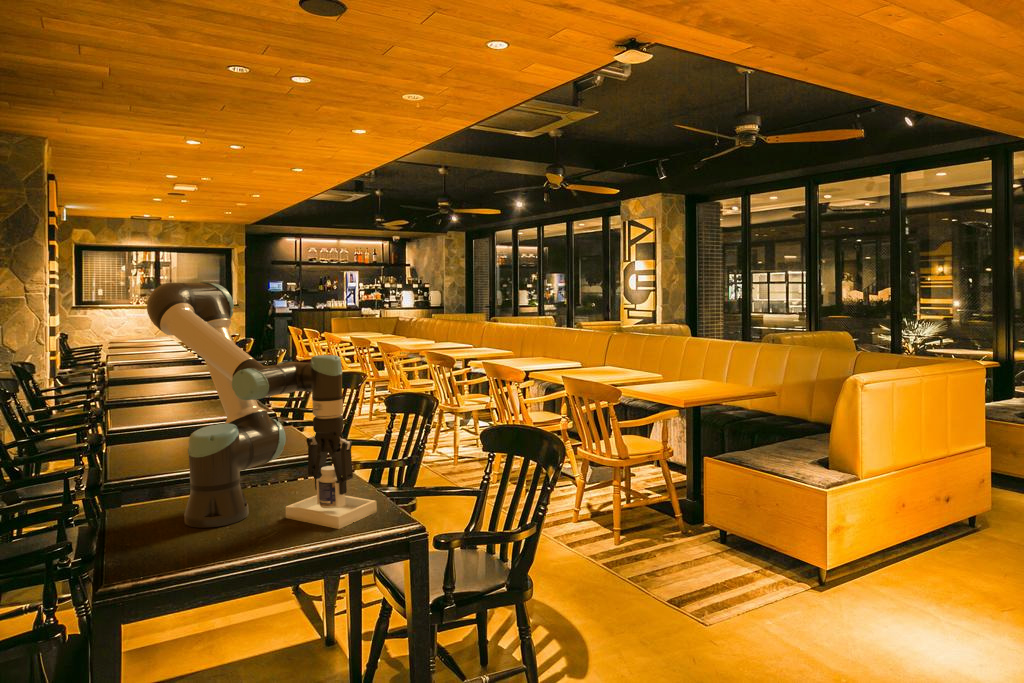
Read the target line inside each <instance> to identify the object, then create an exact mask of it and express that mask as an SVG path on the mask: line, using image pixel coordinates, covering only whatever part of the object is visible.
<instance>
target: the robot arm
mask: <svg viewBox="0 0 1024 683" xmlns="http://www.w3.org/2000/svg"><path fill="white" fill-rule="evenodd" d="M234 304H235V303H234V299H233V297H232V295H231V294H230V292H229V291H228V289H227V288H225V286H222V285H220V284H219V283H211V282H207V281H201V282H167V283H163V284H161V285H159V286H157V287H156V288H155V289H154V290H152V292H151V293H150V294H149V297H148V298H147V302H146V312H147V315H148V317H149V319H150V321H151V322H152V324H153V326H155V327H157V329H158V330H159V331H161V332H162V333H164V335H165V336H166V335H167V336H171V337H172V336H174V337H175V338H176V339H178V340H179V341H180V342H182V343H183V344H184V345H185V346H187V347H188V348H189V349H190V350H192V351H193V352H195V354H197V355H198V356H199V357H201V358H202V359H204V361H205V364H206V366H207V369H208V372H209V374H210V375H209V376H210V377H211V380H212V382H213V384H214V387H215V390H216V392H217V395H218V397H219V401H220V403H221V406H222V408H223V410H224V414H225V416H226V420H225V422H224V423H217V424H212V425H206V426H203V427H201V428H198V429H197V430H195V431H193V432H192V433H190V435H189V437H188V448H187V454H188V466H189V467H188V468H189V484H190V486H189V487H190V492H189V493H190V494H189V496H188V501H187V502H186V503H187V504H186V508H185V511H184V514H183V516H184V524H185V525H186V526H188V527H191V528H201V529H203V528H206V529H207V528H208V529H209V528H217V527H218V528H219V527H223V526H228V525H231V524H235V523H238V522H240V521H243V520H244V519H246V518H247V517H248V516H249V514H250V513H249V503H248V502H247V499H246V497H245V494H244V492H243V490H242V487H241V478H240V477H241V473H240V472H242V471H245V470H247V469H251V468H254V467H257V466H259V465H262V466H263V465H266V464H267V463H270V462H272V461H274V460H276V459H278V458H279V457H280V456H281V454H282V453H283V451H284V447H285V446H286V441H287V440H286V439H287V438H286V436H287V435H286V432H285V429H284V426H283V424H282V423H281V422H280V421H277V420H278V419H275V418H271V417H270V416H269V413H268V411H267V409H265V408H263V407H261V406H260V405H259V404H258V402H257V401H258V400H261V399H264V398H269V397H273V396H278V395H284V394H289V393H294V392H309V393H311V398H312V415H313V419H312V420H313V421H312V425H313V426H312V428H313V432H314V433H315V434H314V436H310V437H307V438H306V440H305V441H306V444H307V474H308V476H312V477H313V478H314V488H315V491H316V495H317V504H320V495H319V479H320V477H321V476H322V474H321V468H322V467H325V466H327V458H328V455H329V457H330V458H331V461H332V466H334V469H335V473H336V477H337V481H335V498H336V508H339V507H342V506H344V505H345V495H346V494H347V488H348V487H347V481H350V480H352V479H353V478H354V474H353V473H354V472H353V461H352V445H353V441H352V440H346V439H344V436H343V430H344V427H345V426H344V425H345V424H344V416H343V414H344V399H343V397H344V396H343V366H342V360H341V357H340V356H339V355H335V354H319V355H314V356H312V357H310V358H311V359H310V362H303V361H302V362H300V361H299V362H298V361H294V360H293V361H292V360H289V361H281V362H278V363H277V364H274V365H273V364H272V365H263V364H262V363H261V362H259V361H257V360H256V359H255V358H254V357H252V356H251V355H250V354H248V352H246V351H245V350H243V349H242V348H241V347H239V346H238V345H237V344H235V343H234V340H233V337H232V334H231V332H230V330H229V328H230V326H231V325H232V319H231V318H232V317H233V314H234V310H233V309H234V308H235V306H234Z"/></svg>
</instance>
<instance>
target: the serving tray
mask: <svg viewBox="0 0 1024 683" xmlns="http://www.w3.org/2000/svg"><path fill="white" fill-rule="evenodd" d="M376 513H378V507H377V500H374V499H373V500H372V499H368V498H363V497H362V498H361V497H357V496H351V495H346V494H345V505H344V506H342V507H339V508H322V507H321V506H320V504H317V494H316V495H313V496H309V497H307V498H305V499H302V500H300V501H297V502H294V503H292V504H289V505H286V506H285V519H288V520H289V519H290V520H292V521H293V520H294V521H297V522H303V523H307V524H308V523H309V524H314V525H317V526H323V527H328V528H333V529H338V530H340V529H343V528H345V527H346V526H348V525H349V526H350V525H351V524H353V522H354V523H355V522H356V523H357V522H358V521H360V520H362V519H365V518H366V517H368V516H371V515H373V514H376Z"/></svg>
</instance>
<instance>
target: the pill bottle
mask: <svg viewBox="0 0 1024 683" xmlns="http://www.w3.org/2000/svg"><path fill="white" fill-rule="evenodd" d="M321 474H322V476H321V477H320V479H319V495H320V506H321V507H322V508H336V498H335V481H337V477H336V473H335V469H334V465H325V467H322V468H321Z"/></svg>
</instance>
